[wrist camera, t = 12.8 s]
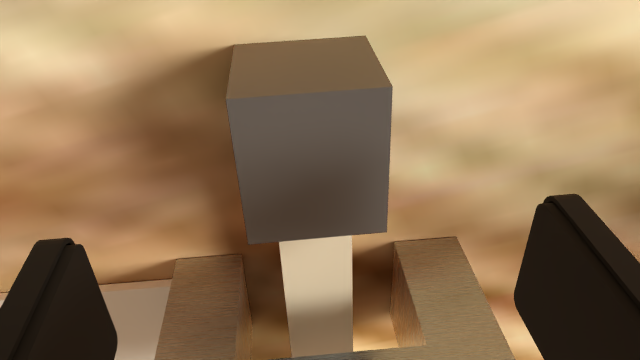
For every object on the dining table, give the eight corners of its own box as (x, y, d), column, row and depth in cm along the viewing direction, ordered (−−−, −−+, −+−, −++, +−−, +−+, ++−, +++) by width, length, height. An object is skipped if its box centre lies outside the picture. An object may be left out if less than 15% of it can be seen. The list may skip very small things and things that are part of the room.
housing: (446, 307, 23) (494, 433, 18) (193, 329, 22) (172, 466, 17) (456, 236, 20) (515, 359, 16) (176, 259, 20) (146, 393, 15)
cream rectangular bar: (362, 421, 27) (376, 502, 24) (286, 429, 27) (289, 512, 23) (365, 35, 16) (392, 86, 12) (234, 44, 15) (225, 99, 12)
